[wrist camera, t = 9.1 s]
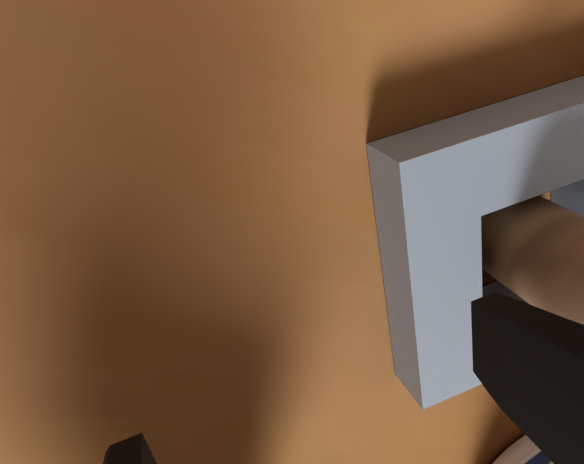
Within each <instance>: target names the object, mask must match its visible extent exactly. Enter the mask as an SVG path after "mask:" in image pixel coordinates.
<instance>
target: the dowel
mask: <svg viewBox="0 0 584 464" xmlns="http://www.w3.org/2000/svg"><path fill="white" fill-rule="evenodd" d="M481 241H482V269H483V270H484V271H485V272H487V273H488V274H490V275H491V276H492V277H494V278H495V279H496V280H498V281H499V282H500V283H502V284H503V285H504V286H506V287H507V288H509V289H510V290H511V291H513V292H514V293H515V294H517V295H518V296H519V297H521V298H522V299H524V300H525V301H526V302H528V303H529V304H530V305H533V306H535V307H538V308H540V309H543V310H546V311H548V312H551V313H553V314H556V315H559V316H561V317H564V318H567V319H569V320H572V321H575V322H577V323H580V324H583V325H584V217H583V216H581V215H579V214H577V213H574V212H572V211H570V210H568V209H566V208H564V207H562V206H560V205H558V204H556V203H554V202H552V201H549V200H547V199H545V198H543V197H541V196H539V195H538V196H535V197H533V198H530V199H527V200H524V201H522V202H519V203H516V204H513V205H511V206H508V207H505V208H502V209H500V210H497V211H494V212H491V213H489V214H486V215H483V216H481Z"/></svg>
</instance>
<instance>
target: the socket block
mask: <svg viewBox="0 0 584 464" xmlns="http://www.w3.org/2000/svg"><path fill="white" fill-rule="evenodd" d="M366 146H367V154H368V162H369V169H370V177H371V185H372V193H373V201H374V209H375V217H376V225H377V233H378V241H379V249H380V257H381V265H382V272H383V280H384V288H385V296H386V304H387V312H388V320H389V328H390V336H391V344H392V352H393V360H394V367H395V374H396V376H397V377H398V378H399V380H400V381H401V382H402V383H403V385H404V386H405V387H406V389H407V390H408V391H409V392H410V394H411V395H412V396H413V398H414V399H415V400H416V401H417V403H418V404H419V405H420V407H421V408H422V409H423V410H424V409H426V408H428V407H430V406H433V405H435V404H437V403H440V402H442V401H444V400H446V399H449V398H451V397H453V396H455V395H458V394H460V393H462V392H465V391H467V390H469V389H471V388H474V387H476V386H478V385H481V384H482V383H481V382H480V380H479V379H478V378H477V376H476V375H475V373H474V372H473V355H472V322H471V301H473V300H476V299H478V298H481V297H483V296H486V295H489V294H491V293H494V292H497V293H500V294H503V295H506V296H508V297H511V298H514V299H517V300H519V301H522V302H525V303H527V304H529V303H528V302H526V301H525V300H524V299H522V298H521V297H519V296H518V295H517V294H515V293H514V292H513V291H511V290H510V289H509V288H507V287H506V286H504V285H503V284H502V283H500V282H499V281H495V282H493V283H490V284H488V285H485V286H483V287H482V241H481V216H483V215H486V214H489V213H491V212H494V211H497V210H500V209H502V208H505V207H508V206H511V205H513V204H516V203H519V202H522V201H524V200H527V199H530V198H533V197H535V196H538V195H541V194H544V193H547V192H549V191H551V201H552V202H554V203H556V204H558V205H560V206H562V207H564V208H566V209H568V210H570V211H572V212H574V213H577V214H579V215H581V216H583V217H584V76H581V77H578V78H574V79H571V80H568V81H565V82H562V83H558V84H555V85H552V86H549V87H546V88H543V89H539V90H536V91H533V92H530V93H527V94H523V95H520V96H517V97H514V98H511V99H507V100H504V101H501V102H498V103H495V104H491V105H488V106H485V107H482V108H479V109H475V110H472V111H469V112H466V113H463V114H459V115H456V116H453V117H450V118H447V119H443V120H440V121H437V122H434V123H431V124H427V125H424V126H421V127H418V128H415V129H411V130H408V131H405V132H402V133H399V134H395V135H392V136H389V137H386V138H383V139H379V140H376V141H373V142H370V143H367V144H366Z"/></svg>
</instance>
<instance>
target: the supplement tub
mask: <svg viewBox="0 0 584 464" xmlns="http://www.w3.org/2000/svg"><path fill="white" fill-rule="evenodd" d="M492 464H554V463H553V462H552V461H551V460H550V459H549V458H548V457H547V456H546V455H545V454H544V453H543V452H542V451H541V450H540V449H539V448H538V447H537V446H536V445H535V444H534V443H533V442H532V441H531V440H530V439H529V438H528V437H527V436H526V435H524V436H523V437H521V438H520V439H519V440H517V441H516V442H515V443H513V444H512V445H511V446H510V447H508V448H507V449H506V450H505V451H504V452H503V453H502V454H501V455H500V456H499V457H498V458H497V459H496V460H495V461H494V462H493V463H492Z"/></svg>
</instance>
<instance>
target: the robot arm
mask: <svg viewBox="0 0 584 464" xmlns="http://www.w3.org/2000/svg"><path fill="white" fill-rule="evenodd" d="M471 322H472V355H473V372H474V373H475V375H476V376H477V378H478V379H479V380H480V382H481V383H482V384H483V386H484V387H485V388H486V390H487V391H488V393H489V394H490V395H491V396H492V398H493V399H494V400H495V402H496V403H497V404H498V405H499V407H500V408H501V409H502V410H503V412H504V413H505V414H506V415H507V416H508V417H509V418H510V419H511V420H512V421H513V422H514V423H515V424H516V425H517V426H518V427H519V428H520V429H521V430H522V432H523V433H524V434H525V435H526V436H527V437H528V438H529V439H530V440H531V441H532V442H533V443H534V444H535V445H536V446H537V447H538V448H539V449H540V450H541V451H542V452H543V453H544V454H545V455H546V456H547V457H548V458H549V459H550V460H551V461H552V462H553V463H554V464H584V325H583V324H580V323H577V322H575V321H572V320H569V319H567V318H564V317H561V316H559V315H556V314H553V313H551V312H548V311H546V310H543V309H540V308H538V307H535V306H533V305H530V304H527V303H525V302H522V301H519V300H517V299H514V298H511V297H508V296H506V295H503V294H500V293H497V292H494V293H491V294H489V295H486V296H483V297H481V298H478V299H476V300H473V301H471ZM103 464H156V462H155V459H154V457H153V455H152V453H151V451H150V449H149V447H148V445H147V443H146V440H145V438H144V436H143V434H142V433H140V434H138V435H135V436H133V437H130V438H128V439H125V440H123V441H120V442H118V443H115V444H113V445H110V446H109V448H108V449H107V451H106V453H105V458H104V462H103Z"/></svg>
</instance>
